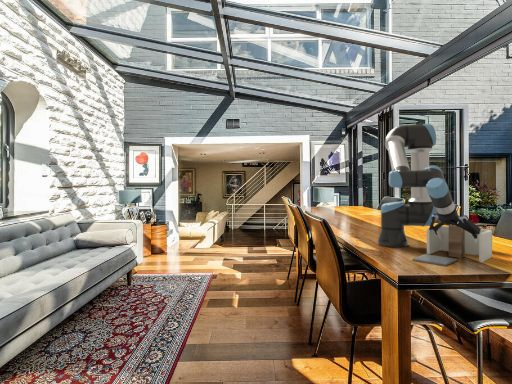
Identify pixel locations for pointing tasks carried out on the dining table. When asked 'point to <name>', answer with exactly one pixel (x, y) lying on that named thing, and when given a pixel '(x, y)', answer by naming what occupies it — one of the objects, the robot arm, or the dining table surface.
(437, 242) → the cubby
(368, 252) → the dining table surface
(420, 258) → the coaster
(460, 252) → the walnut block
